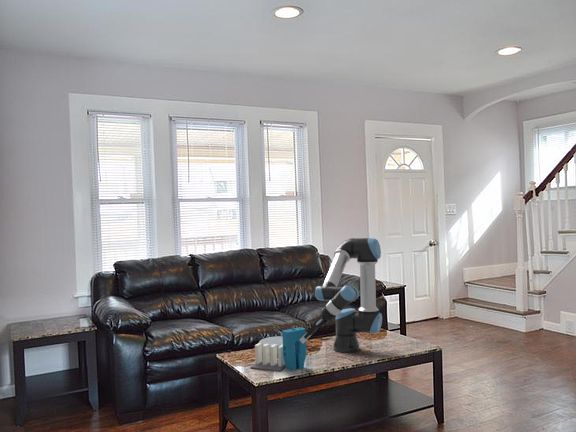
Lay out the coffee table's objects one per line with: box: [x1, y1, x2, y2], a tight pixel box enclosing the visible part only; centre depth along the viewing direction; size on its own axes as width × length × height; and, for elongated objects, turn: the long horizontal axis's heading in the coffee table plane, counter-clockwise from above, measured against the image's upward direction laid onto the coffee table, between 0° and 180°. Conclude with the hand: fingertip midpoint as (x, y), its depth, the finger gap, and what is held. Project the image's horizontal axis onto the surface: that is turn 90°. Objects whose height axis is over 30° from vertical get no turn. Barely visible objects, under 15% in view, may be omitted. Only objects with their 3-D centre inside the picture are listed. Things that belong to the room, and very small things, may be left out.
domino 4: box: [277, 345, 285, 367], centre depth 270 cm, size 2×5×10 cm, turn 156°
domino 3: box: [270, 344, 278, 366], centre depth 271 cm, size 2×5×10 cm, turn 156°
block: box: [281, 327, 307, 372], centre depth 267 cm, size 12×5×20 cm, turn 124°
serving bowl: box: [258, 335, 283, 355], centre depth 297 cm, size 21×21×7 cm
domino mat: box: [249, 358, 286, 372], centre depth 272 cm, size 17×16×1 cm
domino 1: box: [254, 342, 263, 364], centre depth 275 cm, size 2×5×10 cm, turn 157°
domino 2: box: [262, 344, 270, 365], centre depth 273 cm, size 2×5×10 cm, turn 156°
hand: (301, 341), depth 264 cm, fingers closed
